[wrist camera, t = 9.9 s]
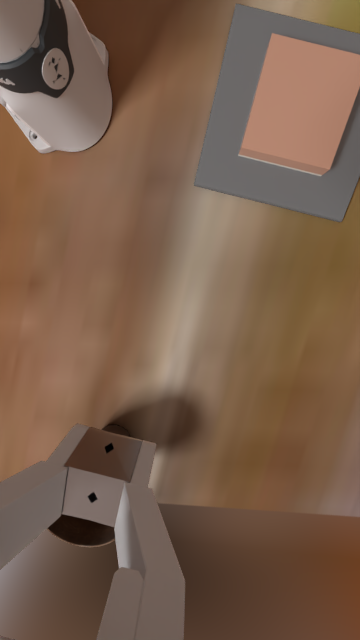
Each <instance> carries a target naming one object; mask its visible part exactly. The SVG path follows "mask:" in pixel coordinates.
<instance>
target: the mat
mask: <svg viewBox="0 0 360 640" xmlns="http://www.w3.org/2000/svg"><path fill="white" fill-rule="evenodd" d="M272 33H274V34H278V35H282V36H286V37H290V38H294V39H298V40H302V41H306V42H310V43H314V44H318V45H322V46H326V47H330V48H334V49H338V50H342V51H346V52H351V53H355V54H359V55H360V34H358V33H354V32H350V31H346V30H342V29H338V28H333V27H329V26H325V25H321V24H317V23H313V22H309V21H305V20H301V19H297V18H293V17H289V16H285V15H281V14H277V13H273V12H269V11H265V10H261V9H256V8H252V7H248V6H244V5H240V4H236V6H235V10H234V15H233V19H232V23H231V28H230V32H229V36H228V40H227V45H226V49H225V53H224V58H223V62H222V66H221V71H220V75H219V79H218V83H217V88H216V92H215V96H214V101H213V105H212V109H211V114H210V118H209V122H208V127H207V131H206V135H205V139H204V144H203V148H202V152H201V157H200V161H199V165H198V170H197V174H196V178H195V183H194V186H197V187H201V188H205V189H209V190H213V191H217V192H221V193H225V194H229V195H233V196H237V197H241V198H245V199H249V200H253V201H257V202H261V203H265V204H269V205H273V206H277V207H281V208H285V209H289V210H293V211H297V212H301V213H305V214H309V215H313V216H317V217H321V218H325V219H329V220H333V221H337V222H341V221H342V220H343V217H344V215H345V212H346V210H347V207H348V205H349V202H350V199H351V197H352V194H353V192H354V189H355V187H356V184H357V182H358V179H359V177H360V88H359V90H358V93H357V96H356V99H355V101H354V104H353V107H352V110H351V112H350V115H349V118H348V121H347V123H346V126H345V129H344V132H343V134H342V137H341V140H340V143H339V146H338V148H337V151H336V154H335V157H334V159H333V162H332V165H331V168H330V170H329V171H327V172H326V173H324V174H323V175H322V176H317V175H313V174H309V173H305V172H301V171H297V170H293V169H289V168H285V167H281V166H277V165H273V164H269V163H265V162H261V161H257V160H253V159H249V158H245V157H241V156H238V154H239V150H240V147H241V143H242V139H243V136H244V132H245V128H246V124H247V121H248V117H249V113H250V110H251V106H252V102H253V98H254V95H255V91H256V87H257V83H258V80H259V76H260V72H261V69H262V65H263V61H264V57H265V54H266V50H267V47H268V44H269V41H270V38H271V35H272Z"/></svg>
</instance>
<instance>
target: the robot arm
mask: <svg viewBox="0 0 360 640" xmlns="http://www.w3.org/2000/svg"><path fill="white" fill-rule="evenodd" d="M108 60H109V56H108V51H107V49H106V47H105V45H104V43H103V42H102V41H101V40H99V39H98V38H97V37H95V36H94V35H92V34H91V33H90V32H88V30H87V28H86V26H85V24H84V22H83V20H82V18H81V16H80V14H79V12H78V10H77V8H76V6H75V4H74V3H73V1H72V0H0V103H1V104H2V105H3V106H4V107H5V108H6V109H7V111H8V112H9V113H10V115H11V116H12V117H13V119H14V120H15V122H16V123H17V124H18V126H19V127H20V128H21V130H22V131H23V133H24V134H25V135H26V137H27V138H28V139H29V141H30V142H31V144H32V145H33V146H34V147H35V148H36V149H37V150H38V151H39V152H40V153H48V152H52V151H55V150H62V151H68V152H77V151H82V150H85V149H87V148H89V147H91V146H92V145H94V144H95V143H96V142H97V141H98V140H99V139H100V138H101V137H102V136H103V134H104V132H105V131H106V129H107V127H108V124H109V121H110V118H111V113H112V93H111V88H110V84H109V80H108V73H107V72H108ZM36 136H37V138H36V139H35V137H36ZM155 450H156V443H153V442H149V441H144V440H140V439H136V438H131V437H127V436H123V435H119V434H114V433H111V432H107V431H104V430H100V429H97V428H93V427H88V426H85V425H81V424H78V423H77V424H76V425H74V426H73V427H72V429H71V430H70V431H69V433H68V434H67V435H66V436H65V438H64V439H63V440H62V442H61V443H60V444H59V445H58V447H57V448H56V449H55V451H54V452H53V453H52V454H51V456H50V457H49V458H48V460H47V461H46V462H45V461H40V462H38V463H36V464H34V465H32V466H30V467H28V468H26V469H25V470H23V471H21V472H19V473H17V474H15V475H13V476H11V477H9V478H7V479H6V480H4V481H2V482H0V570H1V569H2V568H3V567H4V566H5V565H6V564H7V563H8V562H10V561H11V560H12V559H13V558H14V557H15V556H16V555H17V554H18V553H20V552H21V551H22V550H23V549H24V548H25V547H27V546H28V545H29V544H30V543H31V542H32V541H33V540H34V539H36V538H37V537H38V536H39V535H40V534H41V533H42V532H43V531H44V530H46V529H47V528H48V527H49V526H50V525H51V524H53V523H54V522H55V521H56V520H57V519H58V518H59V517H60V516H61V514H64V515H69V516H73V517H78V518H82V519H87V520H91V521H94V522H98V523H101V524H104V525H108V526H111V527H115V528H114V531H115V539H116V547H117V554H118V563H119V570H118V571H117V572H116V573H115V574H114V577H113V581H112V585H111V589H110V592H109V596H108V600H107V603H106V607H105V611H104V614H103V618H102V621H101V625H100V628H99V632H98V636H97V640H184V639H183V638H184V603H185V601H184V600H185V580H184V577H183V574H182V572H181V569H180V566H179V563H178V560H177V557H176V555H175V552H174V549H173V546H172V543H171V541H170V538H169V535H168V532H167V529H166V527H165V524H164V521H163V518H162V516H161V513H160V510H159V507H158V504H157V501H156V499H155V496H154V493H153V490H152V489H151V488H148V483H149V478H150V474H151V469H152V464H153V460H154V455H155ZM0 640H15V639H11V638H7V637H3V636H0Z"/></svg>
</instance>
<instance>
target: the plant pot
mask: <svg viewBox="0 0 360 640" xmlns="http://www.w3.org/2000/svg"><path fill="white" fill-rule="evenodd" d="M102 430H104V431H107V432H111V433H114V434H119V435H123V436H127V437H130V435H129V433H128V432H127V431H126V430H125V429H124V428H122V427H120V426H117V425H109V426H106V427H105V428H103V429H102ZM114 528H115V527H111V526H108V525H104V524H101V523H98V522H94V521H91V520H87V519H82V518H78V517H73V516H69V515H64V514H61V516H60V517H59V518H58V519H57V520H56V521H55V522H54V523H53V524H51V525H50V526H49V527H48V528H47V530H48V531H49V532H51V533H52V534H53V535H54V536H56V537H57V538H59V539H61V540H63V541H65V542H67V543H70V544H73V545H77V546H83V547H97V546H102V545H106V544H108V543H111V542H112V541H114V540H115V531H114Z"/></svg>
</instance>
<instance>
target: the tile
mask: <svg viewBox="0 0 360 640" xmlns="http://www.w3.org/2000/svg"><path fill="white" fill-rule="evenodd" d="M359 88H360V55H359V54H355V53H351V52H346V51H342V50H338V49H334V48H330V47H326V46H322V45H318V44H314V43H310V42H306V41H302V40H298V39H294V38H290V37H286V36H282V35H278V34H274V33H272V35H271V38H270V41H269V44H268V47H267V50H266V54H265V57H264V61H263V65H262V69H261V72H260V76H259V80H258V83H257V87H256V91H255V95H254V98H253V102H252V106H251V110H250V113H249V117H248V121H247V124H246V128H245V132H244V136H243V139H242V143H241V147H240V150H239V154H238V156H241V157H245V158H249V159H253V160H257V161H261V162H265V163H269V164H273V165H277V166H281V167H285V168H289V169H293V170H297V171H301V172H305V173H309V174H313V175H317V176H322V175H323V174H324V173H326V172H327V171H329V170H330V168H331V165H332V162H333V159H334V157H335V154H336V151H337V148H338V146H339V143H340V140H341V137H342V134H343V132H344V129H345V126H346V123H347V121H348V118H349V115H350V112H351V110H352V107H353V104H354V101H355V99H356V96H357V93H358V90H359Z"/></svg>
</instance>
